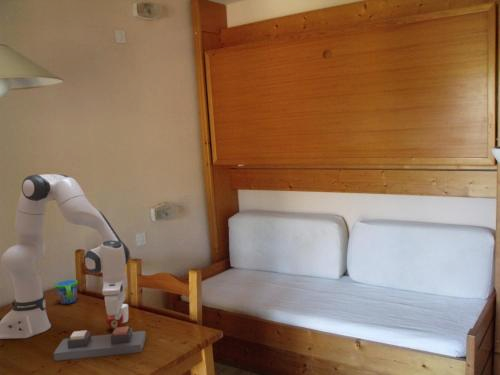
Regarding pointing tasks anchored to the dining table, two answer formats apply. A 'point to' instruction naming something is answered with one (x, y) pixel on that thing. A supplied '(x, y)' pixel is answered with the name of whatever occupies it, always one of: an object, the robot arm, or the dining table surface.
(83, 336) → the key ivory
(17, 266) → the robot arm
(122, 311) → the white short cylinder
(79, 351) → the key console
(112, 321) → the apple
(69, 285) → the snack cup
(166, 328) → the dining table surface
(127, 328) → the key brick
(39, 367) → the dining table surface
